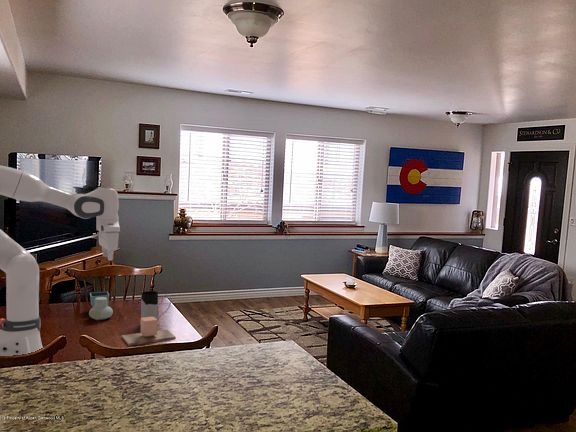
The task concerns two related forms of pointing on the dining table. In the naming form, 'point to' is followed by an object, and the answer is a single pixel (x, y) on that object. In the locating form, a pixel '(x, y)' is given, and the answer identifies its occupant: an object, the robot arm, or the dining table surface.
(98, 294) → the flower pot
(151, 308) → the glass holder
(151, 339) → the post stand
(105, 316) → the air freshener
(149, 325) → the peach block
